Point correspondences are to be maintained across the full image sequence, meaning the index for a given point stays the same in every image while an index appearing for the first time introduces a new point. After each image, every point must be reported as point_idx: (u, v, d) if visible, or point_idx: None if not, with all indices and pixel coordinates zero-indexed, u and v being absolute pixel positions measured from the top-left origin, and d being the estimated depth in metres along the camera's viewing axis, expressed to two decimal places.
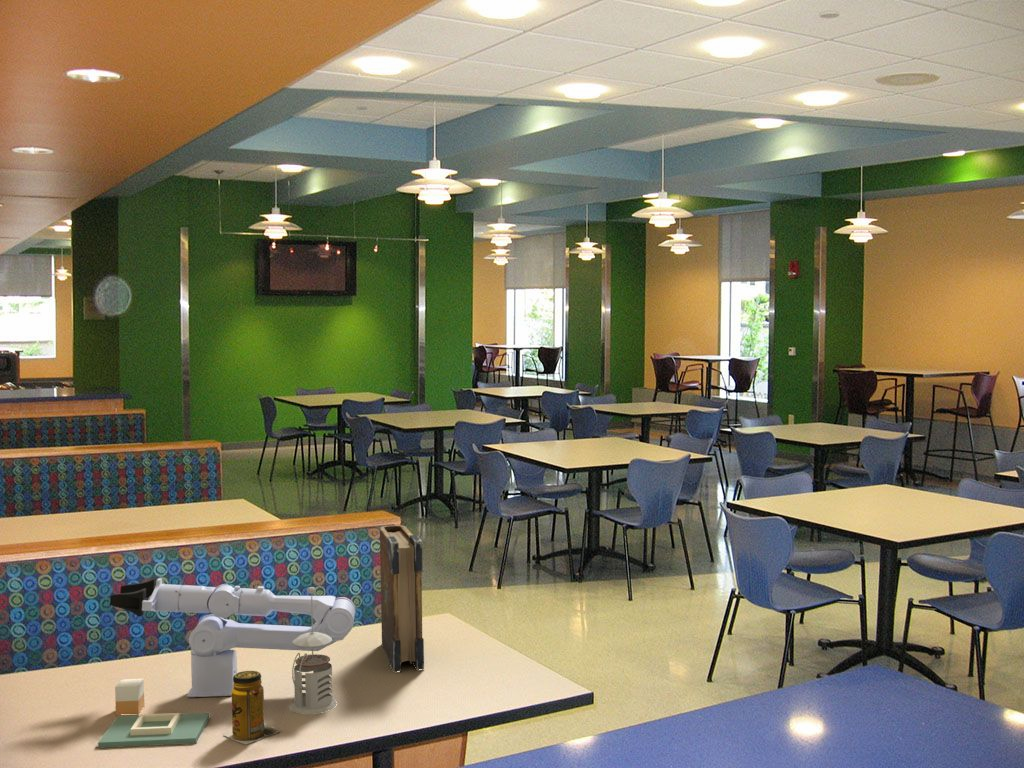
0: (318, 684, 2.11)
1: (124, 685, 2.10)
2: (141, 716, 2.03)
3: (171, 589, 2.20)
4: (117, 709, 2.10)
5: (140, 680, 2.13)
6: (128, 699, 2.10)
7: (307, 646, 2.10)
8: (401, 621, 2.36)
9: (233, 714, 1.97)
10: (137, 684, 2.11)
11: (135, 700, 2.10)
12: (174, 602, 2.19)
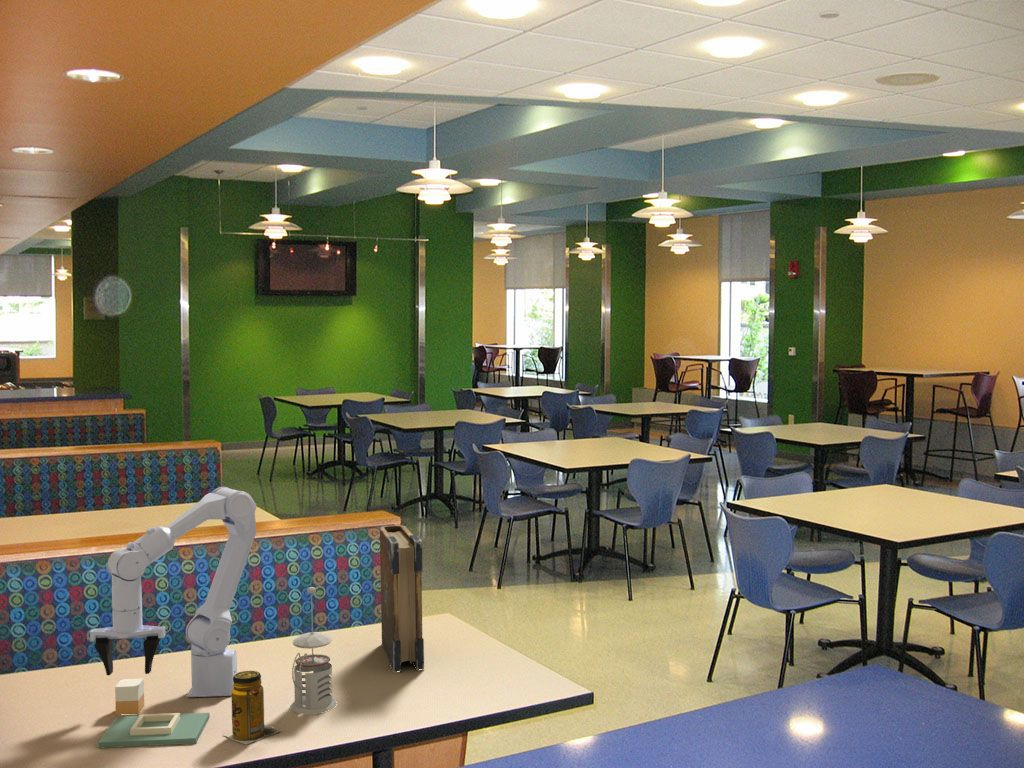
0: (318, 684, 2.11)
1: (124, 685, 2.10)
2: (141, 716, 2.03)
3: (132, 618, 2.09)
4: (117, 709, 2.10)
5: (140, 680, 2.13)
6: (128, 699, 2.10)
7: (307, 646, 2.10)
8: (401, 621, 2.36)
9: (233, 714, 1.97)
10: (137, 684, 2.11)
11: (135, 700, 2.10)
12: (141, 610, 2.11)
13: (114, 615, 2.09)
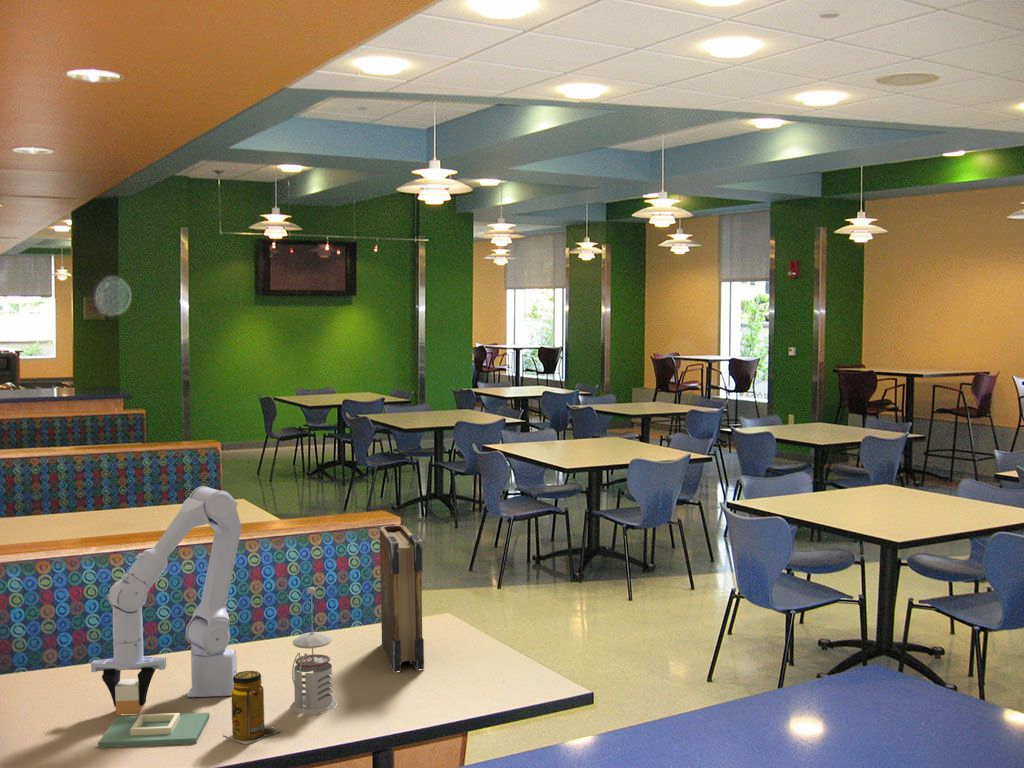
0: (318, 684, 2.11)
1: (124, 685, 2.10)
2: (141, 716, 2.03)
3: (133, 650, 2.09)
4: (117, 709, 2.10)
5: None
6: (128, 699, 2.10)
7: (307, 646, 2.10)
8: (401, 621, 2.36)
9: (233, 714, 1.97)
10: (137, 684, 2.11)
11: (135, 700, 2.10)
12: (142, 641, 2.12)
13: (115, 647, 2.09)
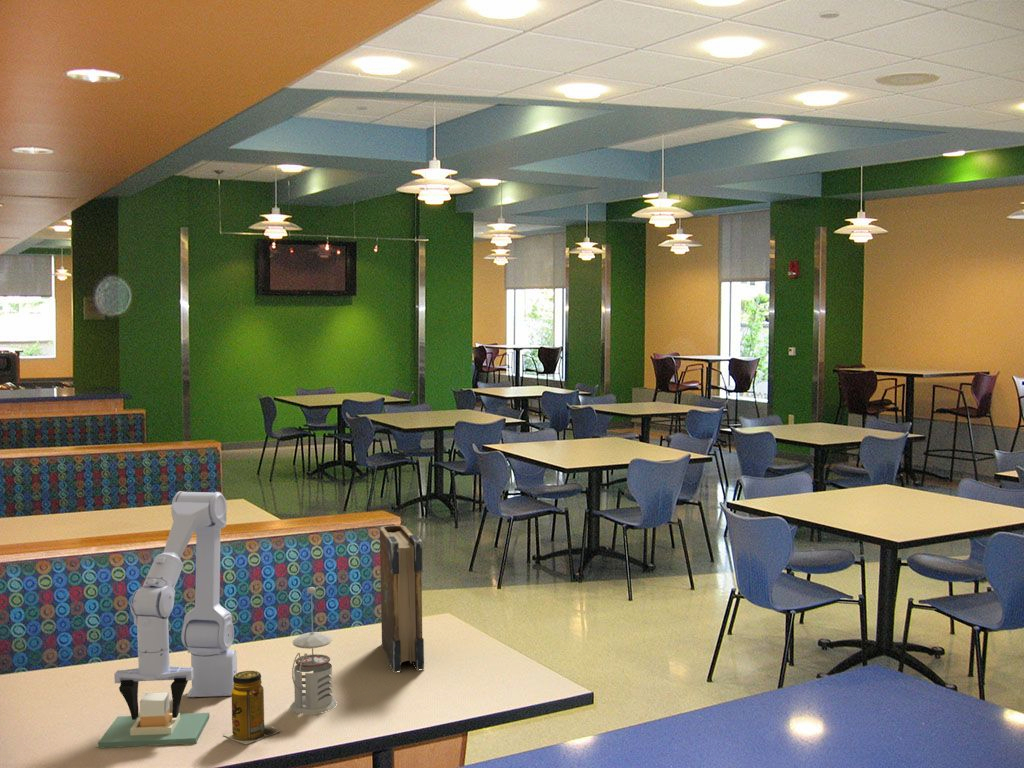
0: (318, 684, 2.11)
1: (149, 700, 1.99)
2: None
3: (159, 660, 1.98)
4: (142, 725, 1.98)
5: (166, 694, 2.02)
6: (153, 714, 1.98)
7: (307, 646, 2.10)
8: (401, 621, 2.36)
9: (233, 714, 1.97)
10: (163, 698, 1.99)
11: (161, 715, 1.99)
12: (168, 650, 2.00)
13: (140, 656, 1.98)
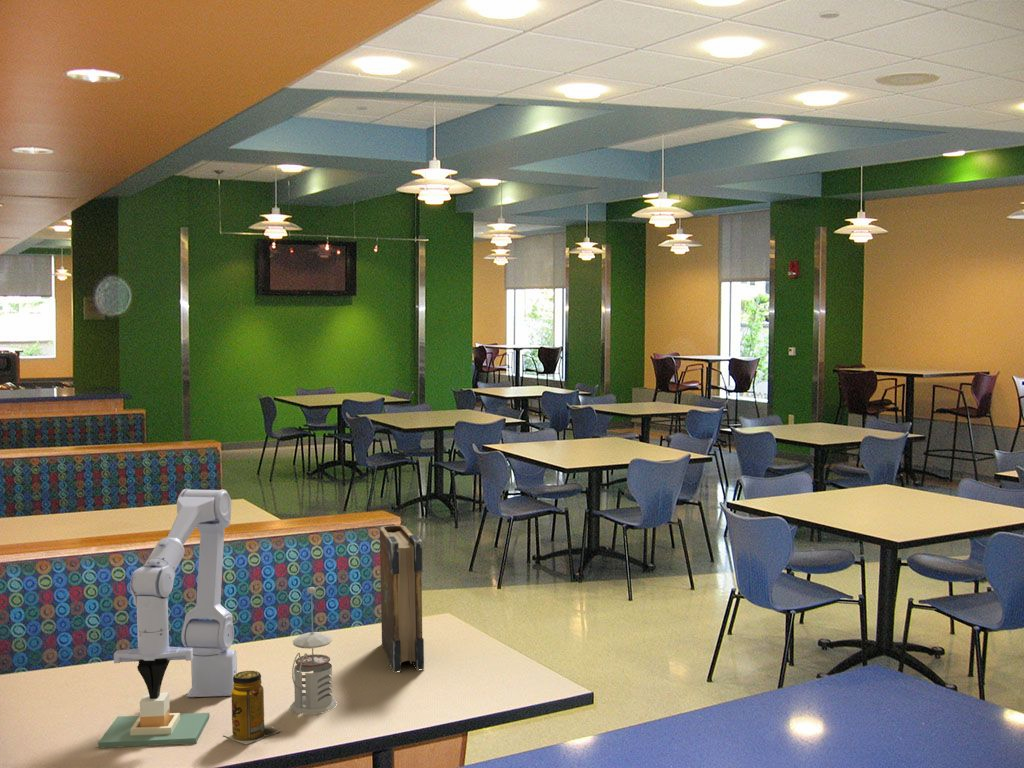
0: (318, 684, 2.11)
1: (149, 700, 1.99)
2: None
3: (159, 640, 1.98)
4: (142, 725, 1.98)
5: (166, 694, 2.02)
6: (153, 714, 1.98)
7: (307, 646, 2.10)
8: (401, 621, 2.36)
9: (233, 714, 1.97)
10: (163, 698, 1.99)
11: (161, 715, 1.99)
12: (168, 631, 2.00)
13: (139, 636, 1.98)
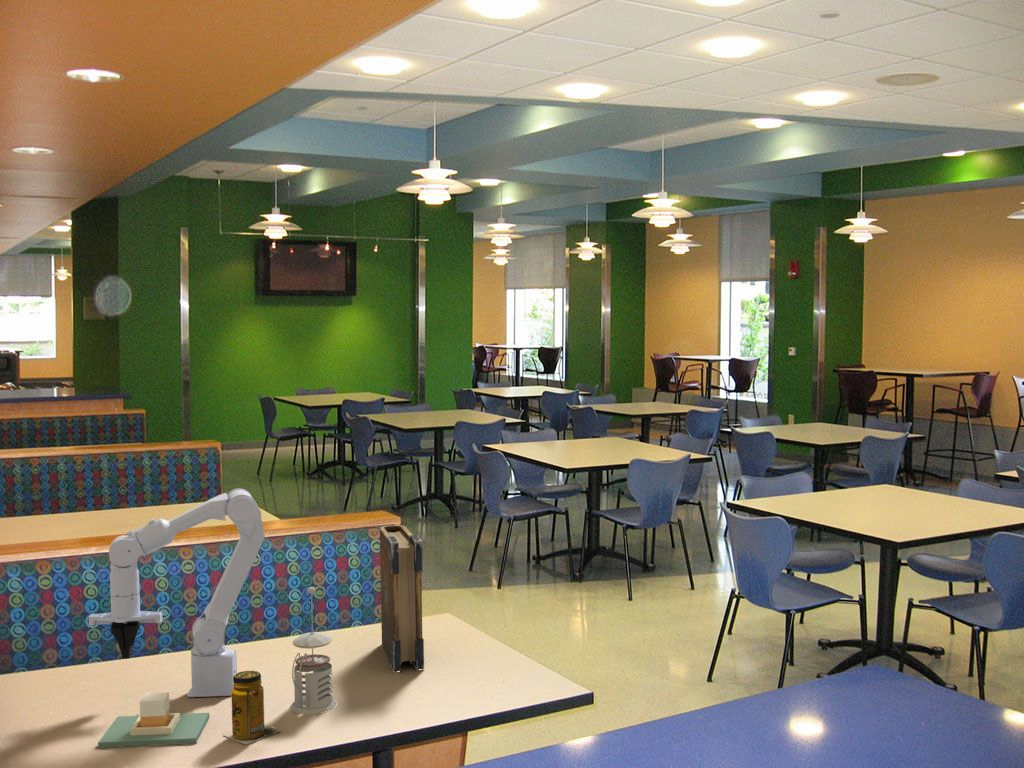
0: (318, 684, 2.11)
1: (149, 700, 1.99)
2: None
3: (130, 604, 2.14)
4: (142, 725, 1.98)
5: (166, 694, 2.02)
6: (153, 714, 1.98)
7: (307, 646, 2.10)
8: (401, 621, 2.36)
9: (233, 714, 1.97)
10: (163, 698, 1.99)
11: (161, 715, 1.99)
12: (139, 596, 2.17)
13: (112, 600, 2.14)
